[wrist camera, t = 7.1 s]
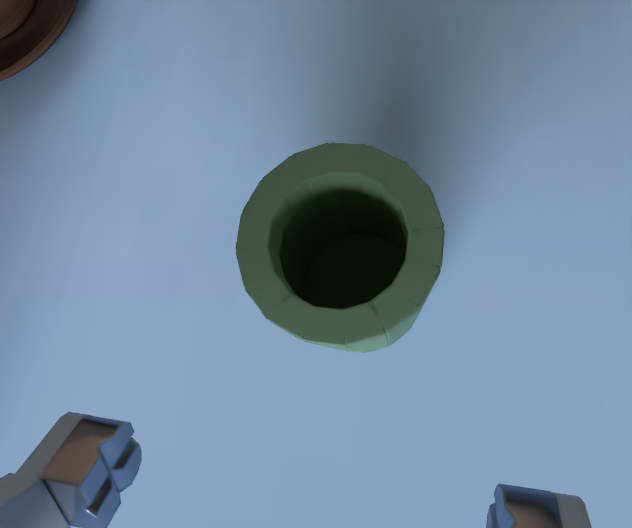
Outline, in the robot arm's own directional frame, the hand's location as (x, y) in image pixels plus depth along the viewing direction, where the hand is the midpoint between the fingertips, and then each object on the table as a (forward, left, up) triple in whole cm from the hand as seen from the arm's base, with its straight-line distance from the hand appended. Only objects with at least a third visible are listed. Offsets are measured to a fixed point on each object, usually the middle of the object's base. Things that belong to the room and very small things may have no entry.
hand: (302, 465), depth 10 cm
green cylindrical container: (0, -5, -9) cm, 11 cm away
